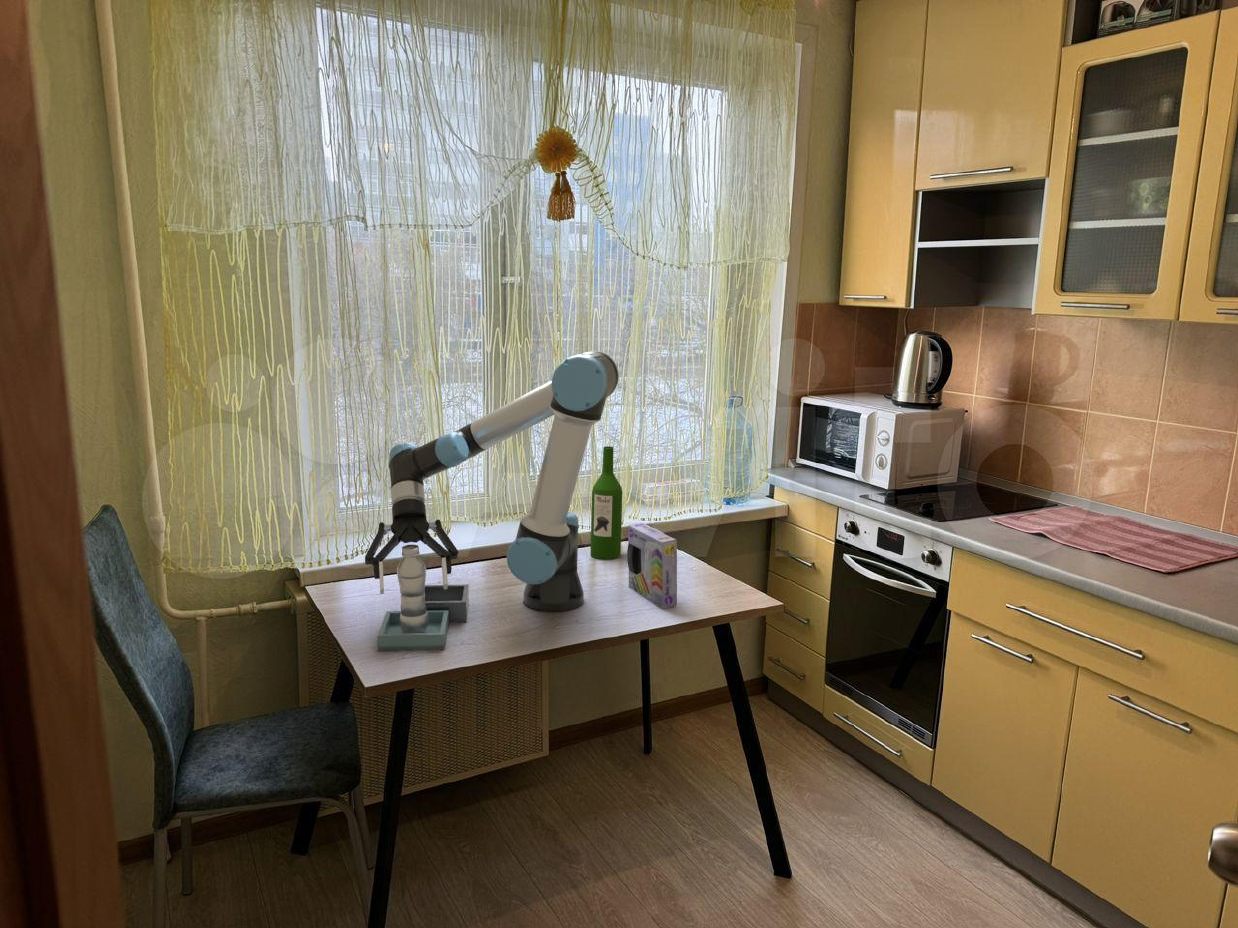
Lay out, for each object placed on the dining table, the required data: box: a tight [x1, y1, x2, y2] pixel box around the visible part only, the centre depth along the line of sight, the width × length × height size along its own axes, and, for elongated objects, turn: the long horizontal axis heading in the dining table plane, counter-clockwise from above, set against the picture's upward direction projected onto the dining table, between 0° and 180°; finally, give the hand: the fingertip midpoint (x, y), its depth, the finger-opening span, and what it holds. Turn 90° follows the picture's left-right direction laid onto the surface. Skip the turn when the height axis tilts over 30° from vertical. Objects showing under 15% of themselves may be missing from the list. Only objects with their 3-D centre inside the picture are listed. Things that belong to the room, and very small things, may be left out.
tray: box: [377, 610, 450, 652], centre depth 193 cm, size 14×14×4 cm
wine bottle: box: [590, 445, 623, 561], centre depth 251 cm, size 9×9×32 cm
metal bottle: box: [396, 544, 429, 633], centre depth 191 cm, size 6×7×20 cm
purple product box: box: [626, 522, 678, 609], centre depth 221 cm, size 19×5×18 cm, turn 27°
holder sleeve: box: [425, 584, 470, 624], centre depth 207 cm, size 12×12×5 cm
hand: (414, 589), depth 188 cm, fingers open, 13 cm apart
